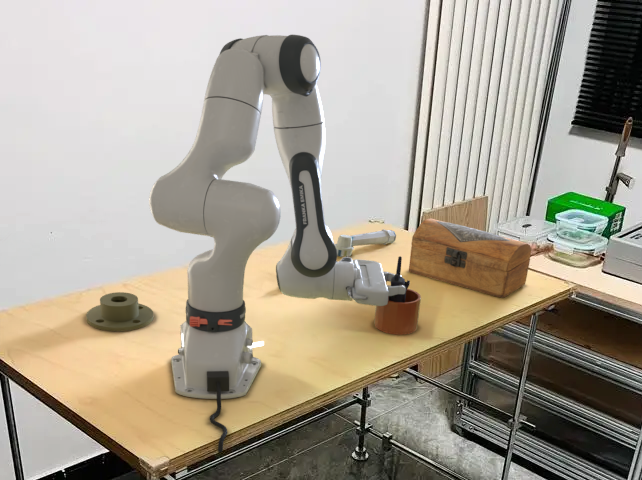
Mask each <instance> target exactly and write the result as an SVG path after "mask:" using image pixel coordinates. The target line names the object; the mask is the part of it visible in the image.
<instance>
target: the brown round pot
mask: <svg viewBox="0 0 642 480" xmlns="http://www.w3.org/2000/svg"><path fill="white" fill-rule="evenodd" d="M403 300H404V298H403ZM421 301H422V297H421V294H420V293H419V292H417V291H416V290H413V289H411V288H407V291H406V297H405V303H402V302H393V301H389V296H388V303H387V305H385V306H375V309H374V320H373V321H374V322H373V323H374V327H375V328H376V329H377V330H379V331H381V332H383V333H386V334H390V335H396V336H399V335H400V336H402V335H404V336H405V335H409V334H412V333H415V332H416V331H417V330H418V325H419V317H420V308H421Z"/></svg>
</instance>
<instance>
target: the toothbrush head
mask: <svg viewBox="0 0 642 480" xmlns="http://www.w3.org/2000/svg"><path fill="white" fill-rule="evenodd" d="M396 238H397V234H396V232H395V231H394V230H392V229H385V228H384V229H381V230H378V231H371V232H364V233H359V234H353V235H349V234H340V235H339V236H338V238H337V240H336V243H334V245H335V247H336V250H337V257H340V258H343V257H352V253H353V251H354V249H355V247H358V246H371V245H384V246H385V245H387V244H392V243H394V242H395V241H396Z"/></svg>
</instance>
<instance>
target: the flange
mask: <svg viewBox="0 0 642 480" xmlns="http://www.w3.org/2000/svg"><path fill="white" fill-rule="evenodd" d="M85 315H86V323H87V324H88V325H89V326H90V327H92V328H95V329H97V330H102V331H107V332H128V331H129V332H130V331H135V330H139V329H141V328H145V327H146V326H149V325H150V324H151V323H152V322H153V320H154V311H153V309H151V307H149V306H148V305H145V304H142V303H139V297H138V296H137V295H136V294H134V293H131V292H123V291H122V292H121V291H119V292H118V291H117V292H110V293H106V294H104V295H102V296H101V297H100V298H99V304H98V305H96V306H94V307H92V308H90V309H89V310H88V311H87V313H86V314H85Z"/></svg>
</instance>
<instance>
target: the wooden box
mask: <svg viewBox="0 0 642 480" xmlns="http://www.w3.org/2000/svg"><path fill="white" fill-rule="evenodd" d="M410 247H411V248H410V256H409V265H408V272H409V273H412V274H415V275H420V276H422V277H426V278H430V279H433V280H436V281H439V282H443V283H447V284H450V285H454V286H458V287H462V288H466V289H469V290H473V291H474V292H478V293H482V294H486V295H488V296H492V297H496V298H499V299H504V298H506V297H507V296H509V295H511V294H513V293H514V292H516V291H517V290H519V289H520V288H521V287H523V286H525V285H526V282H527V278H528V272H529V268H530V263H531V256H532V247H531V245H530V244H529V243H527V242H525V241H521V240H517V239H513V238H509V237H505V236H502V235H498V234H495V233H492V232H488V231H485V230H480V229H476V228H473V227H469V226H466V225H461V224H456V223H452V222H447V221H443V220H438V219H434V218H431V217H430V218H426V219H424V220H423V221H422V222H420V224H419V226H418V227H417V228H416V230H415V231H414V233H413V235H412V237H411V246H410Z"/></svg>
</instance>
